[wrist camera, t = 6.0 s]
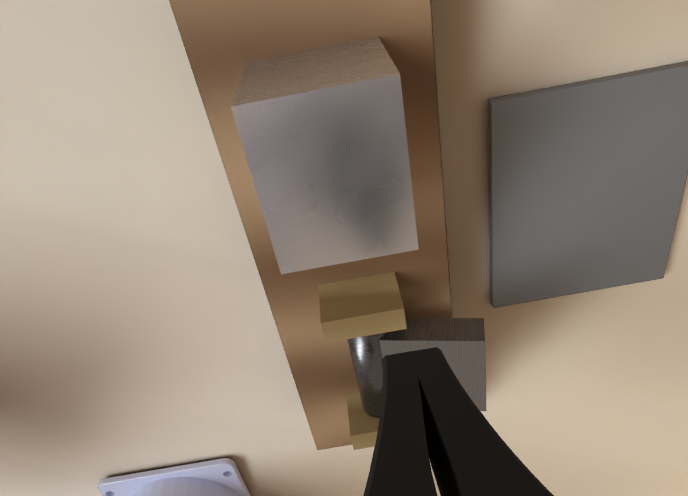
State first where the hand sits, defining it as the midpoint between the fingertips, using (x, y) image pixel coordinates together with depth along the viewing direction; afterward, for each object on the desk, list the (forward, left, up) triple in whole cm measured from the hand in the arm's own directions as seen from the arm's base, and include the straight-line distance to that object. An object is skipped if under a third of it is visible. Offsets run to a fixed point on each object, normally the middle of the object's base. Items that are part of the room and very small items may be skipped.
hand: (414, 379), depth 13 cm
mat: (-2, -9, -10) cm, 14 cm away
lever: (-6, +1, -7) cm, 9 cm away
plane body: (-2, +1, -10) cm, 10 cm away
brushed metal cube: (+4, +1, -8) cm, 9 cm away
